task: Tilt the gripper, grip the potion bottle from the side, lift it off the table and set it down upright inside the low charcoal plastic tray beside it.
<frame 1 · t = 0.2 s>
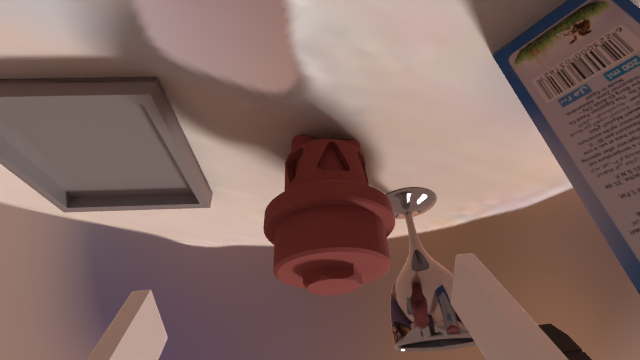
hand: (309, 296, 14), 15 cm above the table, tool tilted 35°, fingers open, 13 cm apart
milk carton: (566, 60, 22), on the table
wine glass: (405, 202, 38), on the table
mechanical component: (323, 149, 29), on the table
charcoal tray: (105, 149, 27), on the table
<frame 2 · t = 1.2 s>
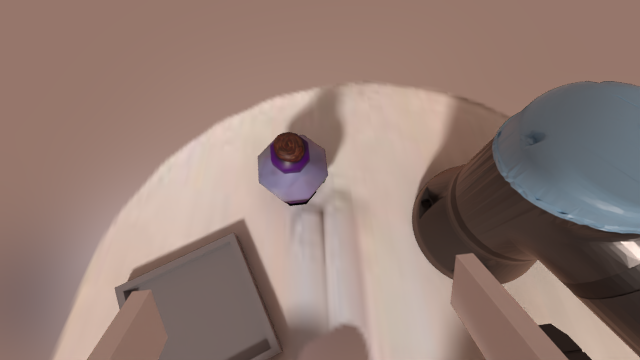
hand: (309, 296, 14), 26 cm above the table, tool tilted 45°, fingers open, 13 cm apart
potion bottle: (296, 187, 43), on the table
charcoal tray: (200, 318, 37), on the table
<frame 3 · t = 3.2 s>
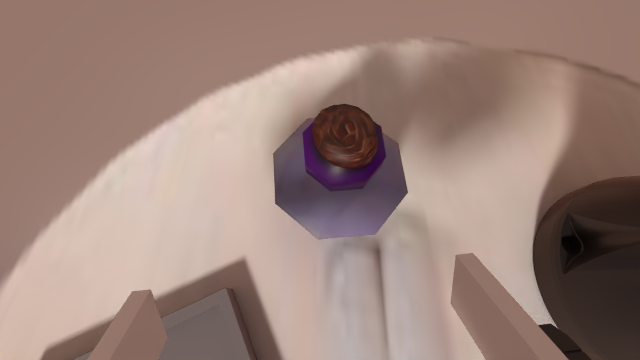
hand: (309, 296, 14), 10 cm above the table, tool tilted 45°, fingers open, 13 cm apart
potion bottle: (333, 205, 26), on the table
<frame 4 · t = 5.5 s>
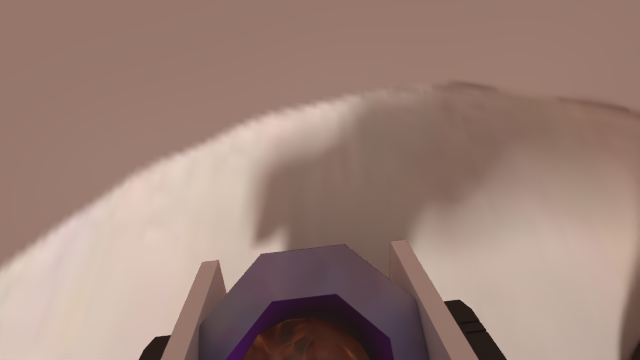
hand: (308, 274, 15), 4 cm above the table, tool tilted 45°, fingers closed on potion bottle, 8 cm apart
potion bottle: (315, 345, 17), on the table, touching gripper
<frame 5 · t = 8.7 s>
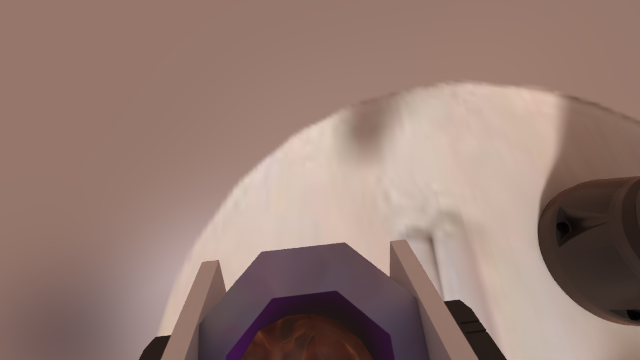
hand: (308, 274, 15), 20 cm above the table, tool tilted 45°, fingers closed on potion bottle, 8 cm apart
potion bottle: (315, 343, 17), point 16 cm above the table, touching gripper
when the fingers open (6 cm above the table, at t = 12.0 s): potion bottle drops 1 cm, resting on charcoal tray.
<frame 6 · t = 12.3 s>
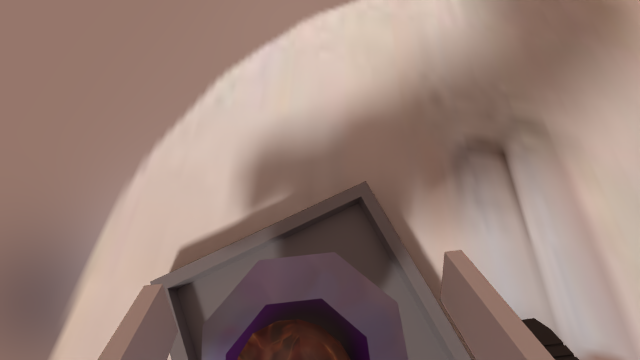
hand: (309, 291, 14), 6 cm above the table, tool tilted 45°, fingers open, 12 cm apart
potion bottle: (310, 342, 19), resting on charcoal tray
charcoal tray: (315, 341, 19), on the table
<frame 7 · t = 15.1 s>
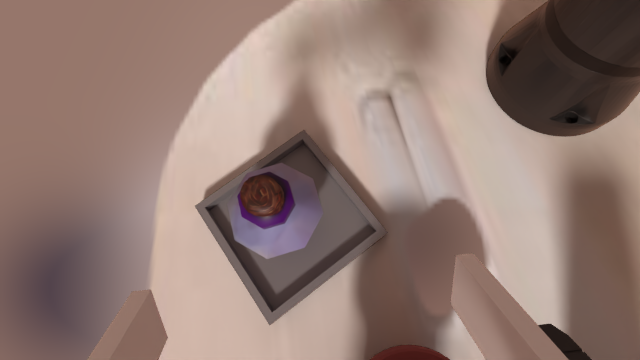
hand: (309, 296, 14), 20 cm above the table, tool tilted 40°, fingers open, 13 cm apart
potion bottle: (287, 222, 34), resting on charcoal tray
charcoal tray: (290, 221, 35), on the table
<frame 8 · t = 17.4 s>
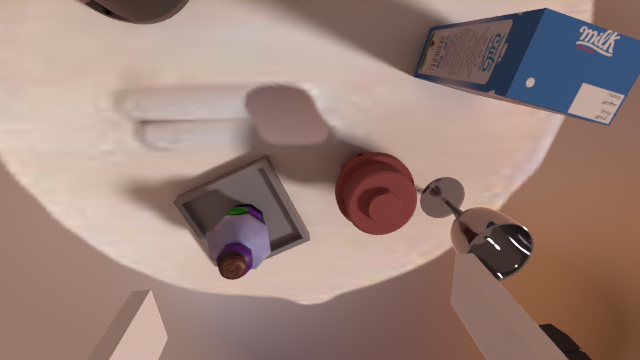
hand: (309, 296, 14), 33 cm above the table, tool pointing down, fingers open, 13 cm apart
milk carton: (454, 62, 43), on the table
wine glass: (442, 197, 50), on the table
potion bottle: (246, 219, 48), resting on charcoal tray
mechanical component: (362, 170, 47), on the table
charcoal tray: (246, 216, 48), on the table
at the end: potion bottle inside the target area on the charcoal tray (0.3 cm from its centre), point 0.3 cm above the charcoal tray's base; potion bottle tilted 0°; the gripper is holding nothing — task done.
